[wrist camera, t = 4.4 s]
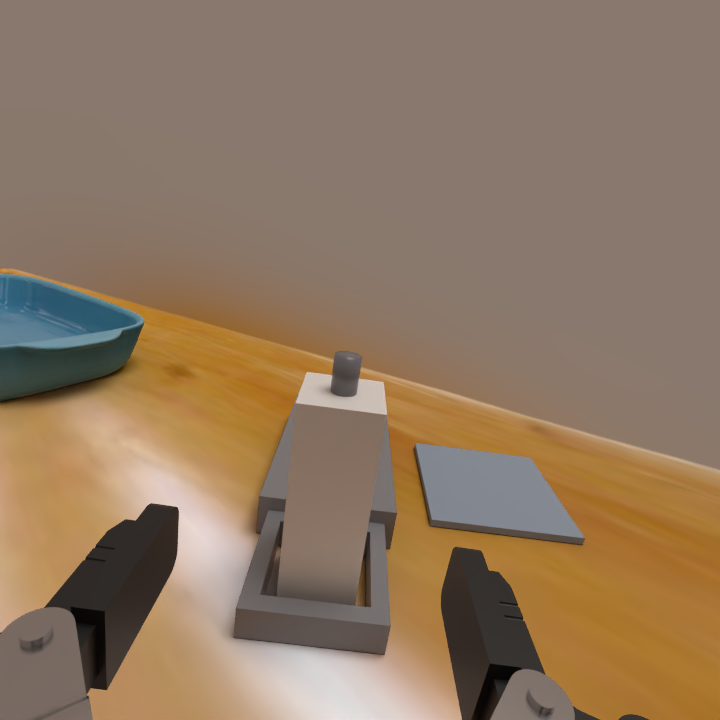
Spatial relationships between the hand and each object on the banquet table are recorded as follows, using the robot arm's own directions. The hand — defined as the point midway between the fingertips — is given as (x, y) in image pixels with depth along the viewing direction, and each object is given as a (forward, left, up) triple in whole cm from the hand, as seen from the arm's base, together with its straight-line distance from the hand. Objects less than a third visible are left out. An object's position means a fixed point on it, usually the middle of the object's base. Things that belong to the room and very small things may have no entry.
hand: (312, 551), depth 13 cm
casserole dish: (+40, +42, -13) cm, 59 cm away
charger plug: (+11, 0, -12) cm, 17 cm away
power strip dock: (+20, 0, -12) cm, 24 cm away
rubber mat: (+24, -14, -12) cm, 31 cm away
